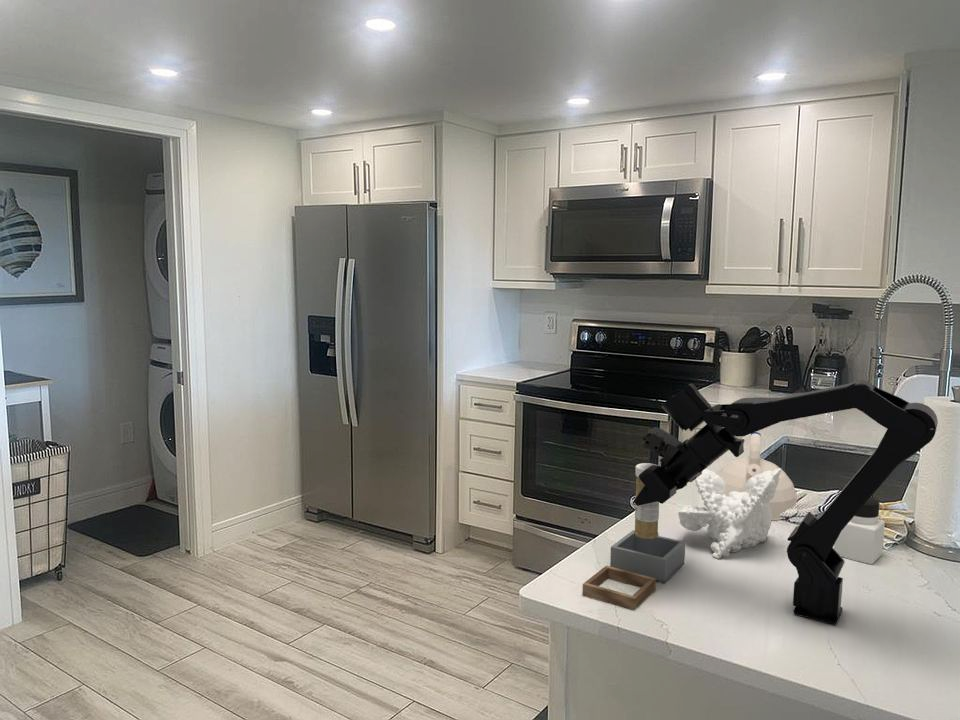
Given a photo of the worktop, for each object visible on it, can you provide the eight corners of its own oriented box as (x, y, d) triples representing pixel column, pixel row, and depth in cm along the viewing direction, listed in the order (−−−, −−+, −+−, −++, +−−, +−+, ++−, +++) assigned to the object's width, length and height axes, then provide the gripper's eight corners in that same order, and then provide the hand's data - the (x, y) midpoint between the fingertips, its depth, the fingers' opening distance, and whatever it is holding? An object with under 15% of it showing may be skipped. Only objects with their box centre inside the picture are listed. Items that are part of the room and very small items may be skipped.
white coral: (789, 489, 156) (779, 459, 140) (782, 583, 149) (770, 562, 133) (700, 480, 165) (681, 451, 150) (690, 568, 158) (668, 547, 142)
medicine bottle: (882, 554, 144) (887, 496, 142) (872, 565, 139) (877, 505, 137) (844, 545, 149) (848, 488, 147) (832, 555, 143) (837, 496, 142)
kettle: (704, 515, 166) (708, 438, 164) (709, 489, 186) (713, 420, 183) (800, 527, 159) (805, 447, 157) (795, 499, 178) (800, 427, 176)
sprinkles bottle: (634, 530, 138) (636, 461, 136) (659, 532, 137) (661, 463, 135) (633, 538, 134) (634, 468, 132) (658, 541, 133) (660, 469, 131)
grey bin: (684, 564, 139) (685, 541, 138) (664, 584, 130) (665, 560, 129) (632, 551, 144) (633, 530, 144) (610, 569, 136) (610, 546, 135)
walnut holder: (655, 589, 128) (656, 578, 128) (634, 610, 120) (634, 598, 120) (605, 575, 133) (606, 565, 133) (582, 594, 125) (582, 584, 125)
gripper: (687, 407, 138) (631, 455, 145) (651, 424, 123) (591, 477, 130) (728, 453, 134) (668, 500, 142) (696, 477, 119) (631, 528, 127)
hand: (640, 500), depth 135 cm, fingers closed on sprinkles bottle, 4 cm apart
